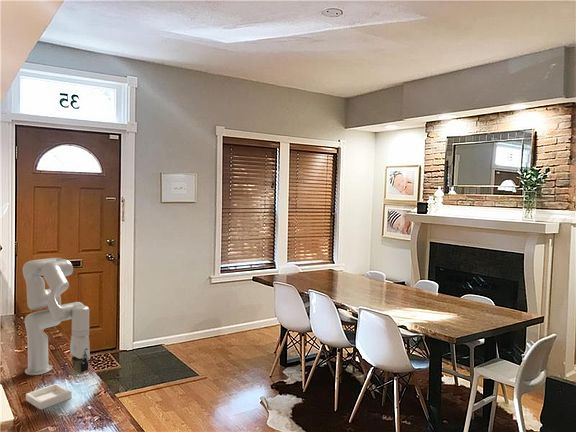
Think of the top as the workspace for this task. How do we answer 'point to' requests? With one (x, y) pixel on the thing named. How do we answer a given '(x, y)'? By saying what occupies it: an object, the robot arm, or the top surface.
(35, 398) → the tray
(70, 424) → the top surface
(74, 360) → the ornate bronze bell
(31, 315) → the robot arm
